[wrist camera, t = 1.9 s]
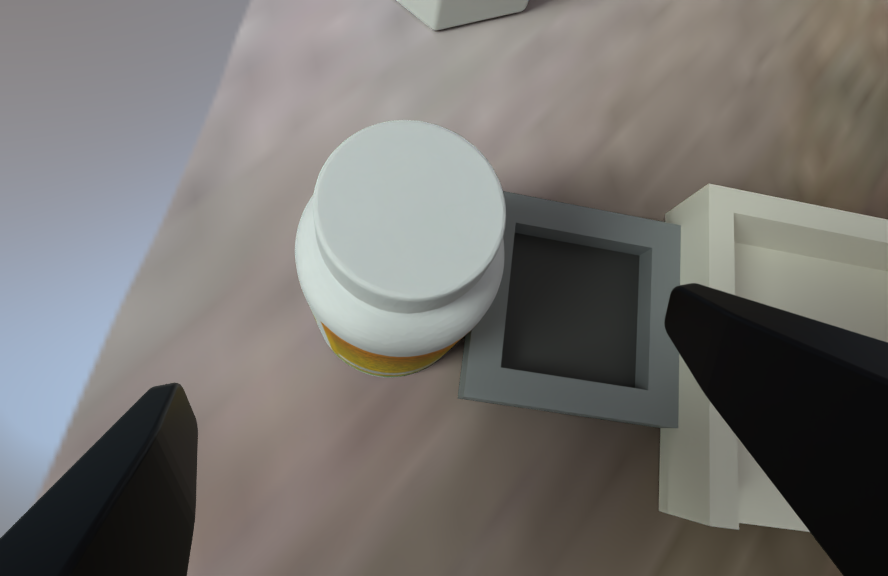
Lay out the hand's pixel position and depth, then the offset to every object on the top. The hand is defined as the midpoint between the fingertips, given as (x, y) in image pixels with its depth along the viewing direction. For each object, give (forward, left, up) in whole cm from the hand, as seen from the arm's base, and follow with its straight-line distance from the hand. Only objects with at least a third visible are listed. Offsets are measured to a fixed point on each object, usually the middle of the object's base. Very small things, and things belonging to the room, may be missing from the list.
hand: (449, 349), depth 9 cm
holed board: (+4, -6, -10) cm, 12 cm away
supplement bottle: (+3, +1, -11) cm, 11 cm away
